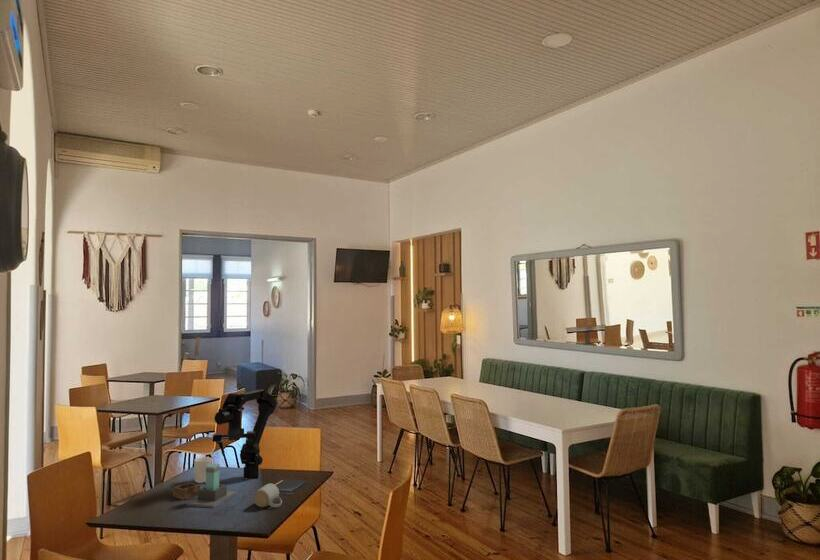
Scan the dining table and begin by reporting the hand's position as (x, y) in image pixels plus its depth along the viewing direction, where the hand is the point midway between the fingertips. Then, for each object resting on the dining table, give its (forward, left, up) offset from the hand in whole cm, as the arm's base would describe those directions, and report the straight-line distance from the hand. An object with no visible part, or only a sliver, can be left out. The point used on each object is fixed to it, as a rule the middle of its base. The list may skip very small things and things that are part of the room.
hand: (234, 455), depth 252 cm
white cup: (+14, -10, -13) cm, 22 cm away
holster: (+19, +11, -13) cm, 26 cm away
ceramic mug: (-15, +34, -13) cm, 39 cm away
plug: (+8, +20, -12) cm, 25 cm away
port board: (+8, +20, -13) cm, 25 cm away
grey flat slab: (-23, +12, -14) cm, 30 cm away
